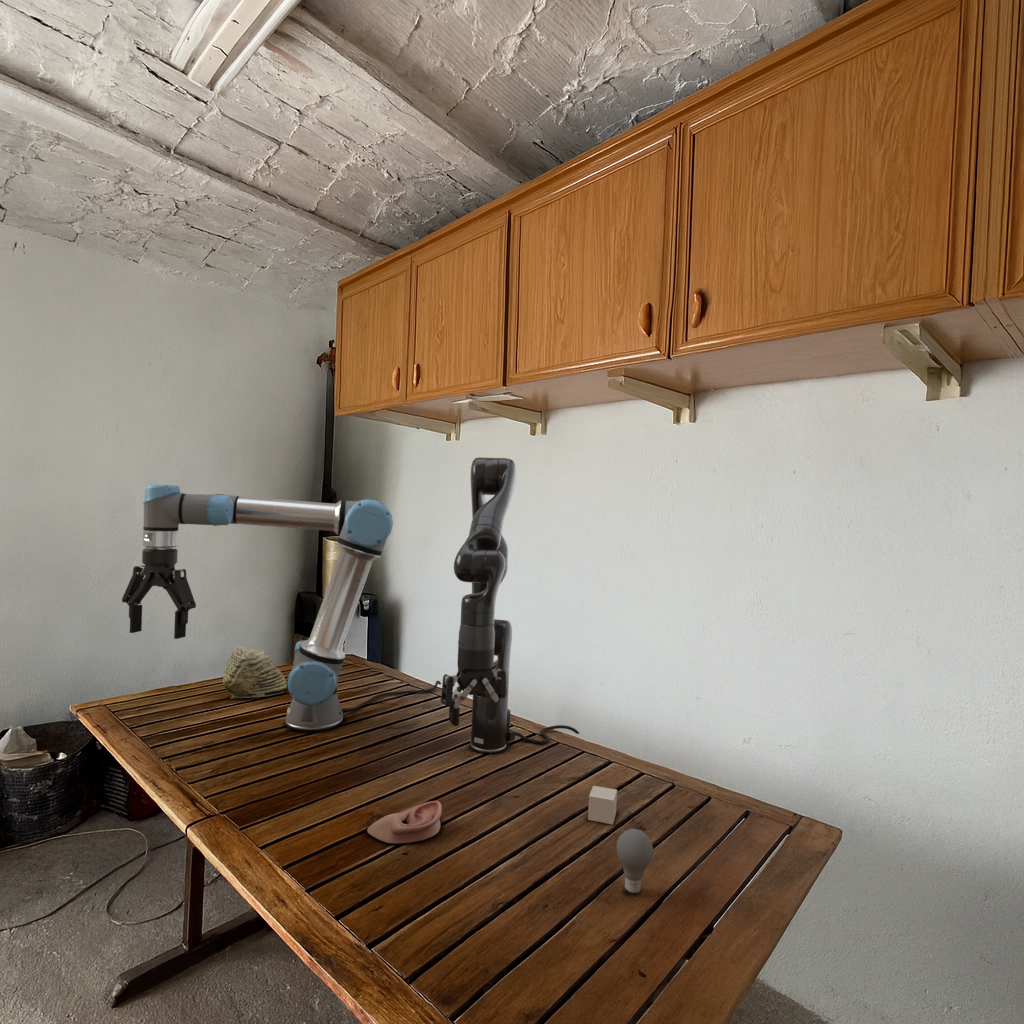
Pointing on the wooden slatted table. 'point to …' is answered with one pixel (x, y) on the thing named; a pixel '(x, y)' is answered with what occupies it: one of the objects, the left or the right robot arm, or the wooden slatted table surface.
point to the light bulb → (634, 857)
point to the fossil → (252, 674)
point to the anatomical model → (408, 824)
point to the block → (602, 805)
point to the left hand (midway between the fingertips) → (157, 634)
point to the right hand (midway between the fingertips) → (472, 722)
